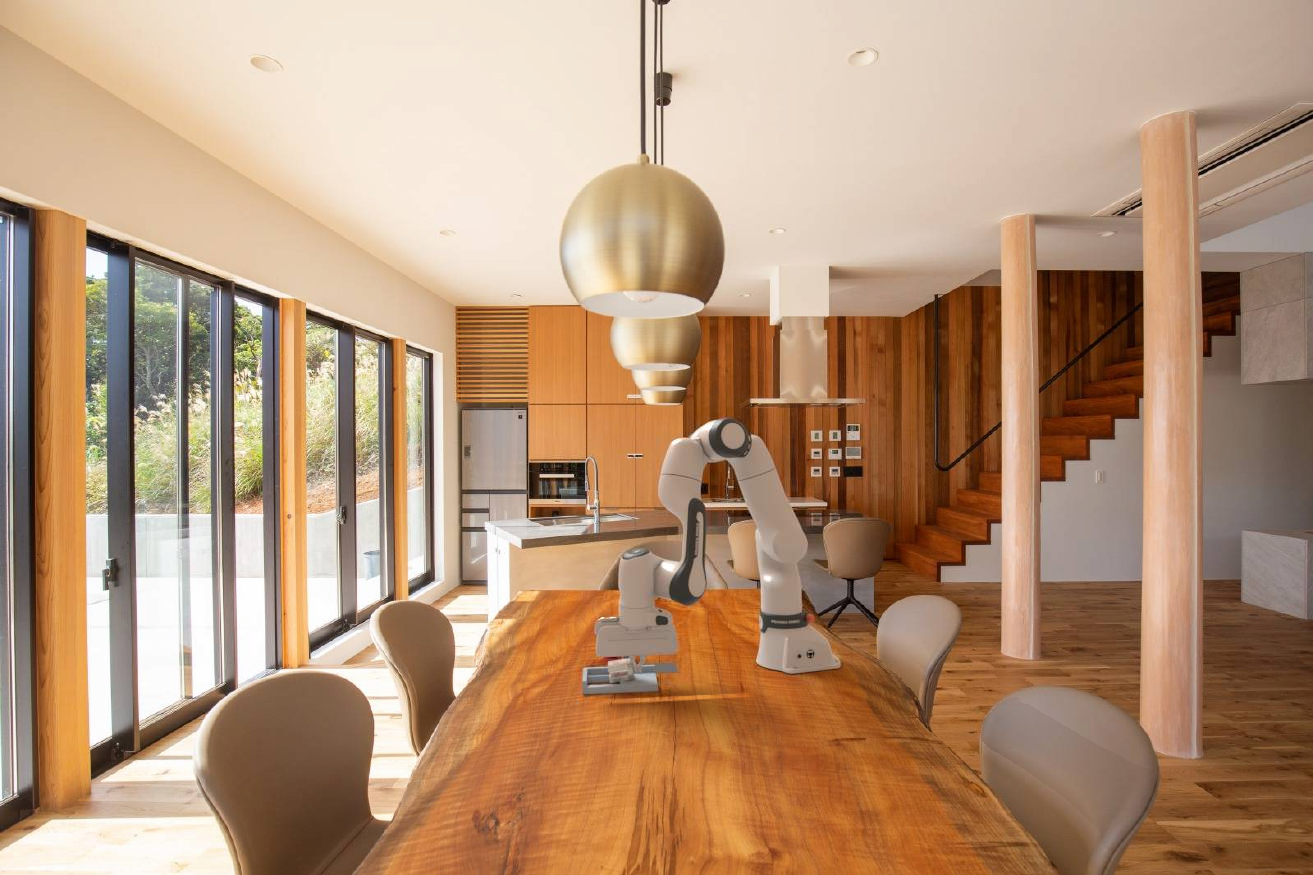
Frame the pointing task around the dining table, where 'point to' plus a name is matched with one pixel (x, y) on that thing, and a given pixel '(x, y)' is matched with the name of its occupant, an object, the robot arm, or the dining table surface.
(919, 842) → the dining table surface
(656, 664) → the pad
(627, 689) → the grey slotted tray
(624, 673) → the white boxy piece
